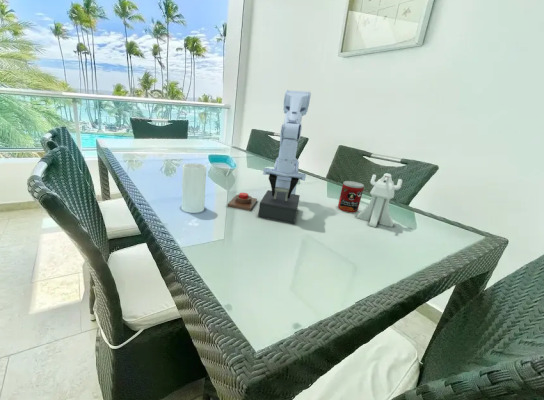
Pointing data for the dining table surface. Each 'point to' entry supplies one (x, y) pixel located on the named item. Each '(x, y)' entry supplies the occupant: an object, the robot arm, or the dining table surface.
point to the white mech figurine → (380, 201)
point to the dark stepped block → (277, 214)
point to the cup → (193, 187)
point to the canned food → (350, 196)
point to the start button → (243, 195)
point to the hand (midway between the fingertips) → (280, 196)
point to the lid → (280, 199)
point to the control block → (242, 203)
